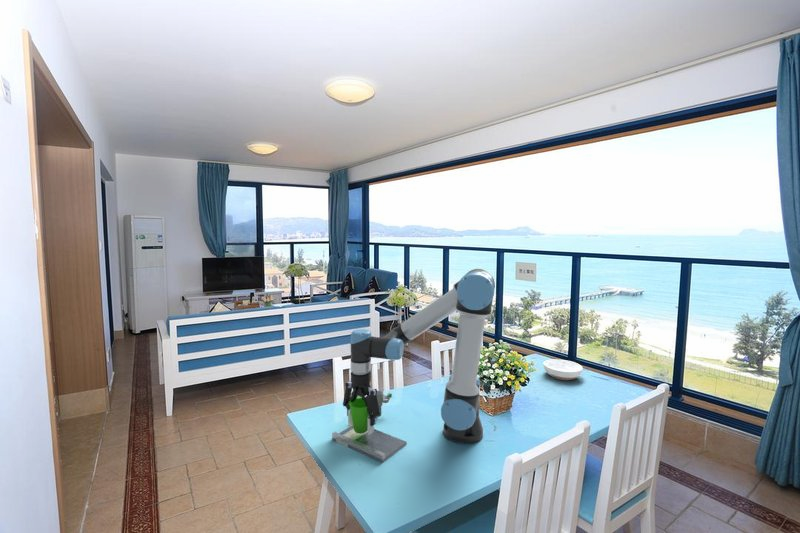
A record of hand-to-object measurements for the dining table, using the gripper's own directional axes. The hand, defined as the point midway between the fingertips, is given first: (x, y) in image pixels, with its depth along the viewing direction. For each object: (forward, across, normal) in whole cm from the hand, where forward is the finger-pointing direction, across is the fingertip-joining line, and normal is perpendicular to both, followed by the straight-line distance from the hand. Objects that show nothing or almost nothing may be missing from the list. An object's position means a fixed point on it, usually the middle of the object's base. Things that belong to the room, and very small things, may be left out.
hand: (360, 429), depth 147 cm
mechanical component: (+3, +5, -18) cm, 19 cm away
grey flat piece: (+3, -5, +1) cm, 6 cm away
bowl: (+3, -46, -110) cm, 120 cm away
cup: (+1, 0, 0) cm, 1 cm away
